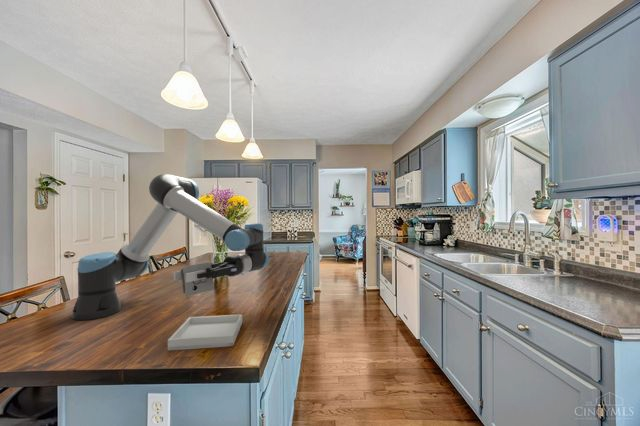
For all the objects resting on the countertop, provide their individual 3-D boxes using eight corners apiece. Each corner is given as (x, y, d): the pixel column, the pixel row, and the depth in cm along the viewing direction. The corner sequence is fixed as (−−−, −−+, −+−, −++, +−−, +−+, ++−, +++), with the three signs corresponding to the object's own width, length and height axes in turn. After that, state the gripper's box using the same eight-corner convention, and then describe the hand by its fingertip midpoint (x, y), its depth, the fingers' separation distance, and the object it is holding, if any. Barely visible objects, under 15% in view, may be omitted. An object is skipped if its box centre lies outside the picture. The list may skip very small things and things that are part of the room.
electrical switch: (186, 297, 85) (186, 267, 86) (178, 294, 89) (178, 265, 89) (214, 290, 93) (214, 262, 93) (206, 288, 96) (205, 261, 96)
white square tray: (189, 325, 97) (189, 317, 97) (242, 322, 99) (242, 314, 99) (167, 350, 79) (167, 340, 79) (233, 346, 81) (232, 335, 81)
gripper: (255, 277, 102) (199, 292, 82) (220, 272, 111) (163, 286, 91) (254, 256, 102) (199, 267, 82) (220, 254, 111) (162, 263, 91)
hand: (180, 277), depth 86 cm, fingers closed on electrical switch, 5 cm apart
